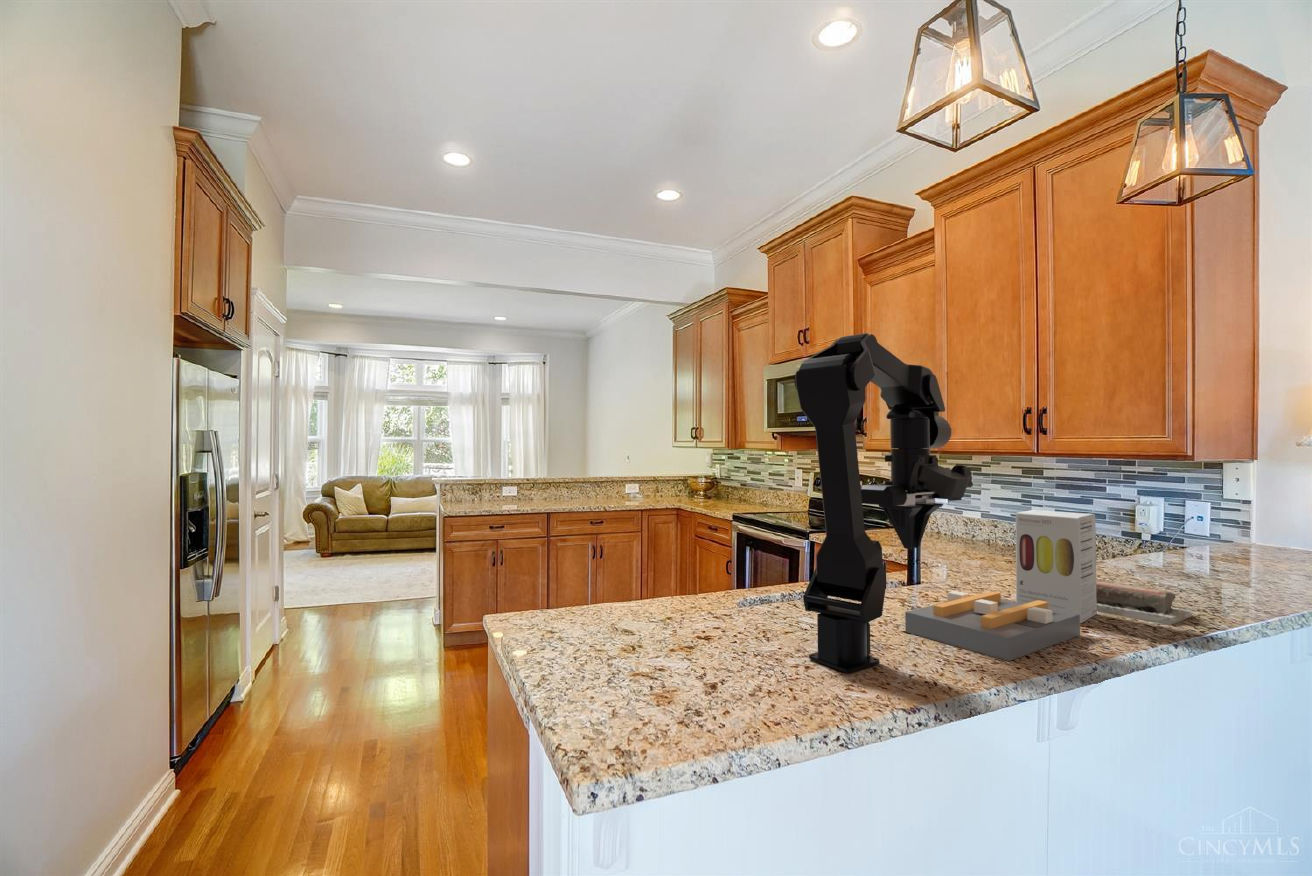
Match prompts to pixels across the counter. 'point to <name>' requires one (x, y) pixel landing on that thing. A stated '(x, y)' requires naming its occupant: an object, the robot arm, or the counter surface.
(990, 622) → the orange bar
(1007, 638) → the breaker panel
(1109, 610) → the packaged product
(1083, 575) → the supplement box
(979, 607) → the block
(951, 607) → the orange wooden bar
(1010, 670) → the counter surface
